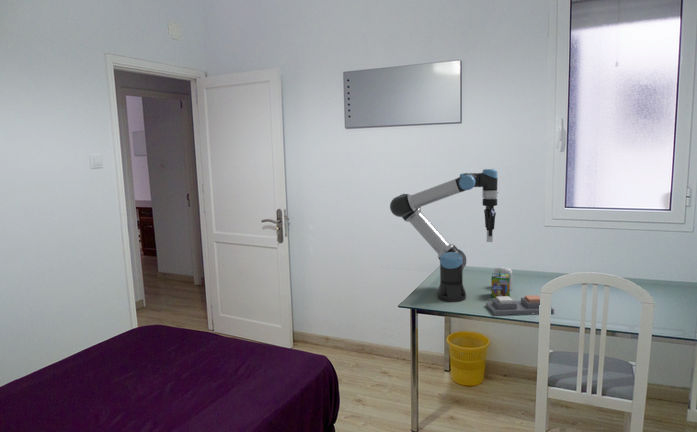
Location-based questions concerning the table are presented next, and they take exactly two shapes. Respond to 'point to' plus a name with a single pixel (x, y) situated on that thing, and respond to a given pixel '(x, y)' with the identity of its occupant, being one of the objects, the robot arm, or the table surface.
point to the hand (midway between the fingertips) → (489, 241)
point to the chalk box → (500, 285)
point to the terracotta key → (532, 298)
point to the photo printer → (505, 271)
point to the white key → (504, 300)
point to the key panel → (514, 307)
